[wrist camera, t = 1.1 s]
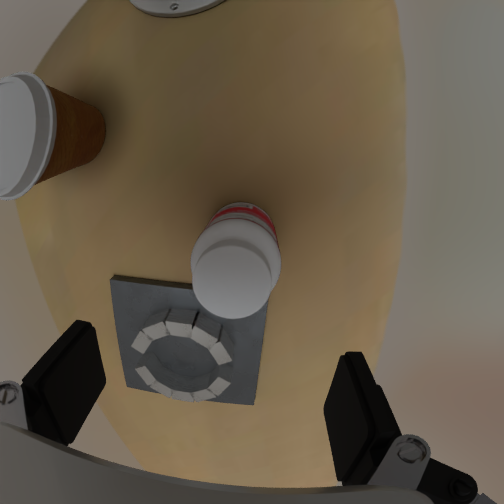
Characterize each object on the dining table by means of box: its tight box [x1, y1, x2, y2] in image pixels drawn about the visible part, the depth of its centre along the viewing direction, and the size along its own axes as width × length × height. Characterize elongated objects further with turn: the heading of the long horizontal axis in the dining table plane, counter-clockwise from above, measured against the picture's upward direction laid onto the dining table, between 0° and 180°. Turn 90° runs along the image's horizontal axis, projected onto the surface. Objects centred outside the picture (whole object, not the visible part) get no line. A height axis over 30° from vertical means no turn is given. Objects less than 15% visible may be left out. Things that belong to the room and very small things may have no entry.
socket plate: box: [110, 275, 268, 405], centre depth 30 cm, size 15×16×4 cm
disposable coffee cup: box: [0, 72, 106, 200], centre depth 19 cm, size 10×10×12 cm
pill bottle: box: [191, 202, 281, 319], centre depth 23 cm, size 6×6×11 cm
